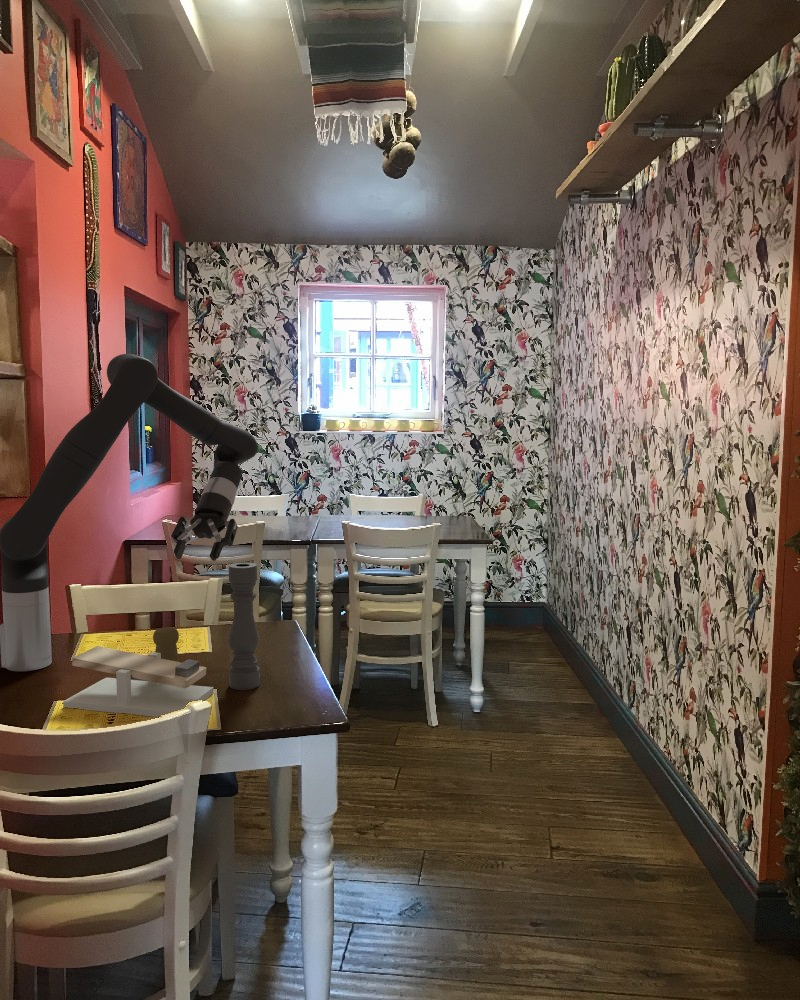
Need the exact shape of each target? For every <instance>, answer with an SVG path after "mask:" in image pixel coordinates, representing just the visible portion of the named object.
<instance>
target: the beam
mask: <svg viewBox="0 0 800 1000" xmlns="http://www.w3.org/2000/svg"><path fill="white" fill-rule="evenodd" d="M71 659H72V661H71V666H73V667H79V668H82V669H87V670H88V669H89V670H93V671H98V672H103V673H108V674H114V675H116V672H117V671H119V670H121V669H123V670H130V671H131V680H140V681H151V682H156V683H161V684H166V685H171V686H176V687H181V688H188V687H189V686H190V685H194V684H195V683H196V682H197V681H199V680H201V679H202V678H204V677H205V676H207V667H206V666H203V665H202V666H201V665H200V663H201V662H200V660H196V659H191V658H190V659H189V658H188V659H186V660H185V661H183V662H180V661H179V662H176V661H171V660H166V659H161V658H156V657H150V656H148V655H145V654H139V653H134V652H129V651H124V650H119V649H115V648H110V647H109V648H108V647H105V646H104V647H103V646H100V645H99V646H98V645H97V646H95V647H92V648H90V649H88V650H86V651H84V652H82V653H79V654H78V655H76V656H74V657H72V658H71Z"/></svg>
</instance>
